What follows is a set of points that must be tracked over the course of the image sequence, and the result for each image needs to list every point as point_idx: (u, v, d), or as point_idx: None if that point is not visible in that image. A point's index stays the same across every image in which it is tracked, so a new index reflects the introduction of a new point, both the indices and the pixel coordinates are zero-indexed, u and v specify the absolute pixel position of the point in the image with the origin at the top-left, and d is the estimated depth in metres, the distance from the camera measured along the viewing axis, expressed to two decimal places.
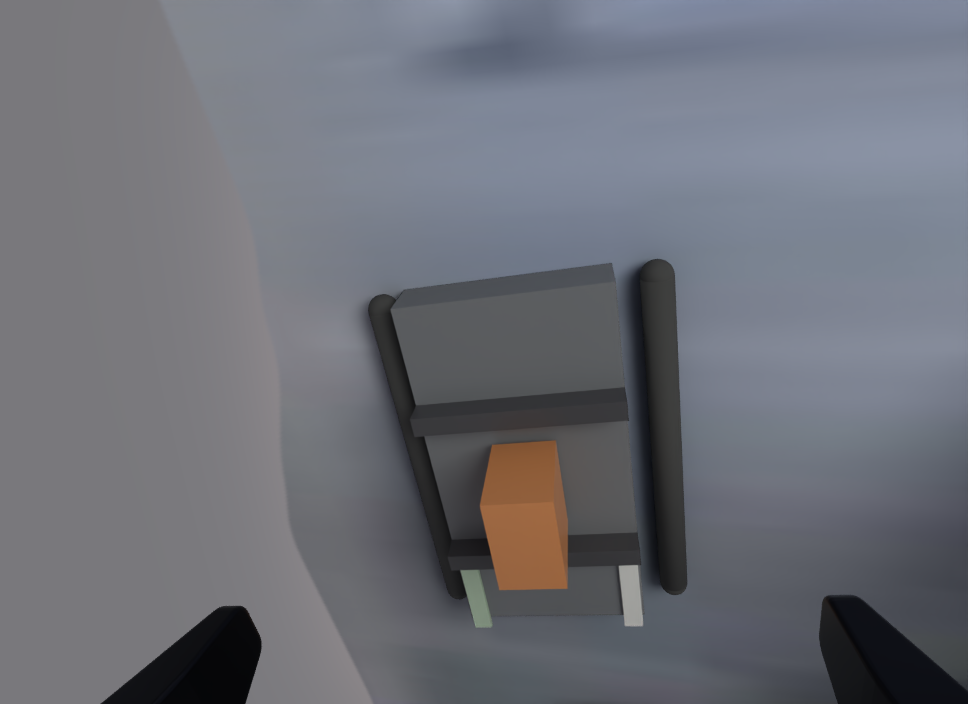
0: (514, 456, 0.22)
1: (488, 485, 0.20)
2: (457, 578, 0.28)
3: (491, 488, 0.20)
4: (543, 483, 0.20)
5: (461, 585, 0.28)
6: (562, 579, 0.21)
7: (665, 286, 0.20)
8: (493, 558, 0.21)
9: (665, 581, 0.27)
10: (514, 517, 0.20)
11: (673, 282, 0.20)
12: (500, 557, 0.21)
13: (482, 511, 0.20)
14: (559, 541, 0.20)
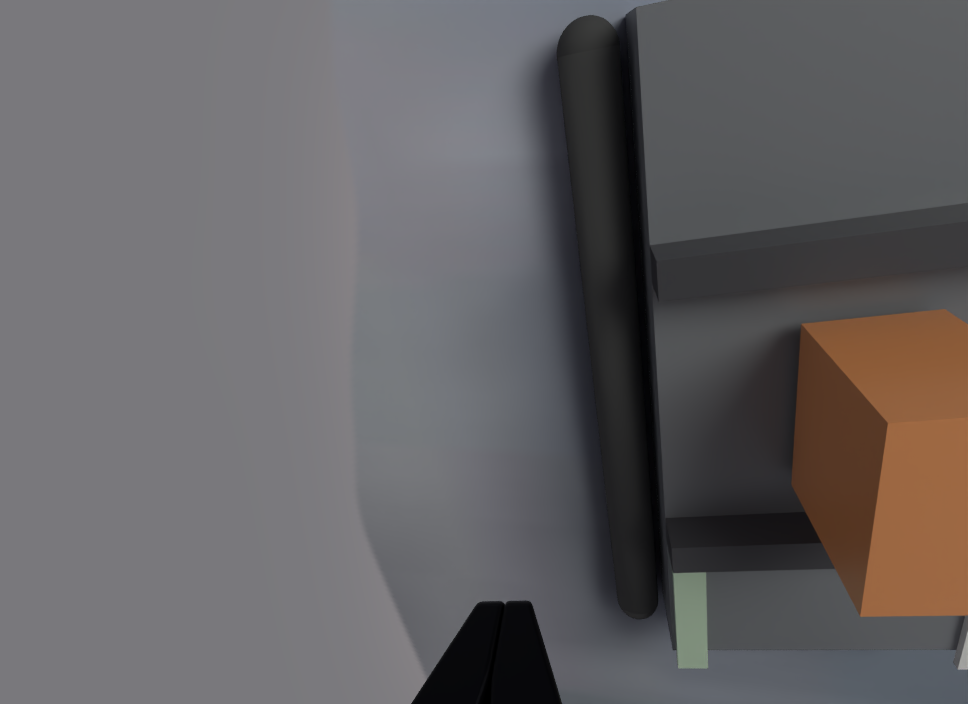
0: (877, 337, 0.10)
1: (868, 385, 0.09)
2: (645, 585, 0.17)
3: (882, 390, 0.09)
4: None
5: (649, 597, 0.17)
6: None
7: None
8: (874, 548, 0.09)
9: None
10: None
11: None
12: (892, 546, 0.09)
13: (890, 437, 0.08)
14: None
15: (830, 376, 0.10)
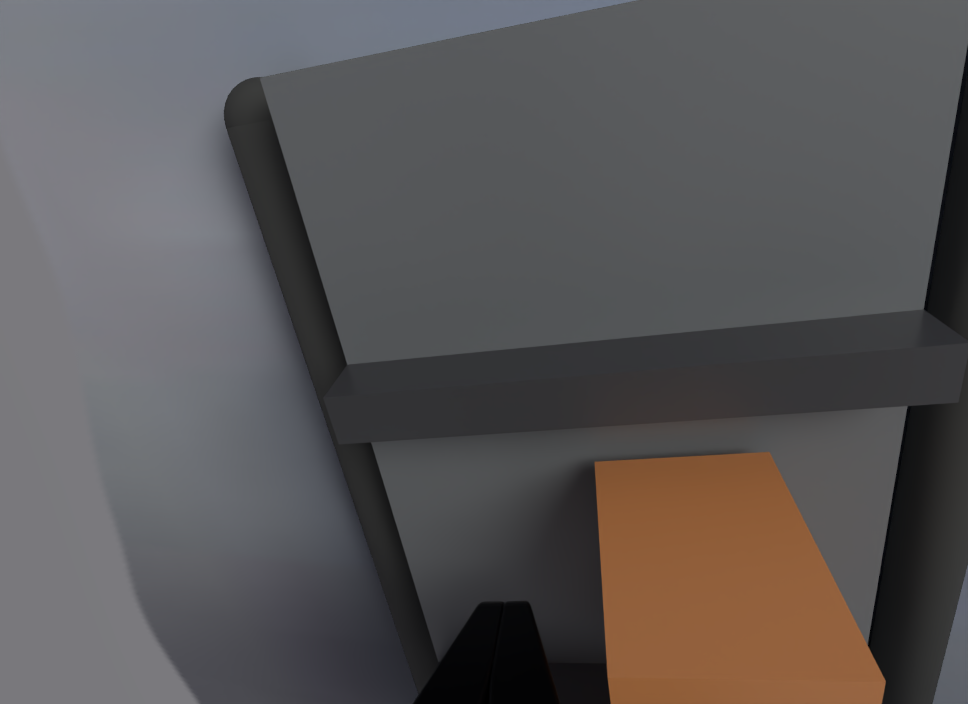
0: (669, 496, 0.08)
1: (617, 593, 0.07)
2: None
3: (630, 605, 0.06)
4: (803, 595, 0.06)
5: None
6: None
7: None
8: None
9: None
10: None
11: None
12: None
13: (614, 694, 0.06)
14: None
15: None
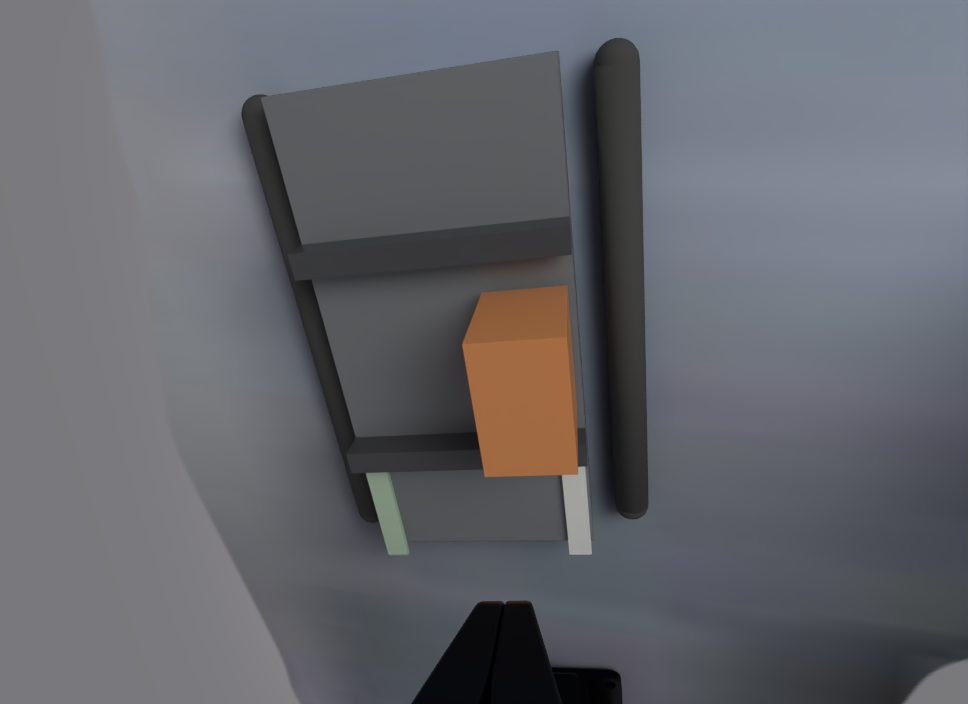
0: (512, 300, 0.16)
1: (475, 326, 0.15)
2: (368, 494, 0.23)
3: (479, 328, 0.15)
4: (551, 321, 0.14)
5: None
6: (572, 460, 0.15)
7: (626, 71, 0.15)
8: (478, 428, 0.15)
9: (621, 501, 0.22)
10: (510, 363, 0.14)
11: (637, 68, 0.15)
12: (488, 426, 0.15)
13: (465, 353, 0.14)
14: (571, 401, 0.14)
15: None
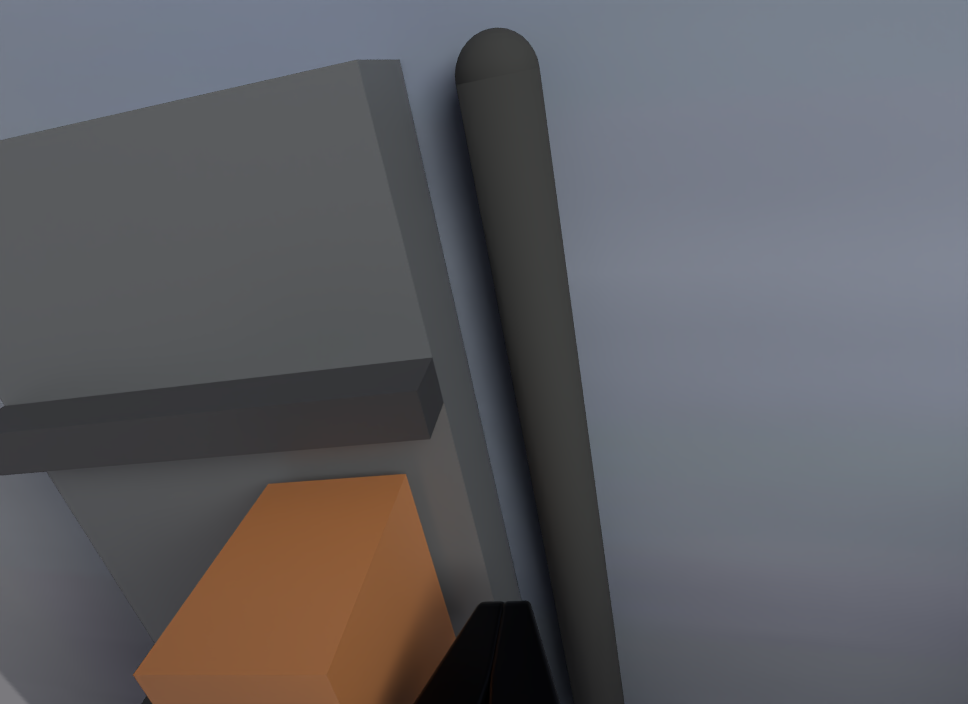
0: (299, 515, 0.09)
1: (195, 602, 0.08)
2: None
3: (196, 613, 0.08)
4: (328, 602, 0.07)
5: None
6: None
7: (510, 91, 0.08)
8: None
9: None
10: None
11: (534, 84, 0.08)
12: None
13: (145, 689, 0.07)
14: None
15: None
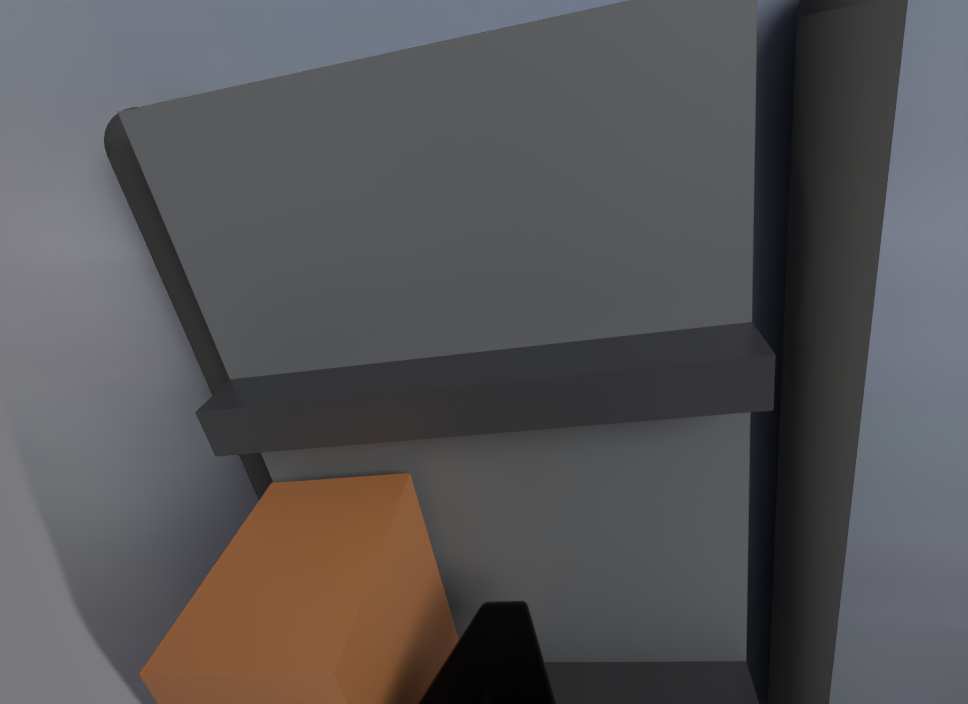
0: (303, 514, 0.09)
1: (199, 601, 0.08)
2: None
3: (201, 612, 0.08)
4: (334, 601, 0.07)
5: None
6: None
7: (887, 18, 0.07)
8: None
9: None
10: None
11: (905, 12, 0.07)
12: None
13: (150, 688, 0.07)
14: None
15: None
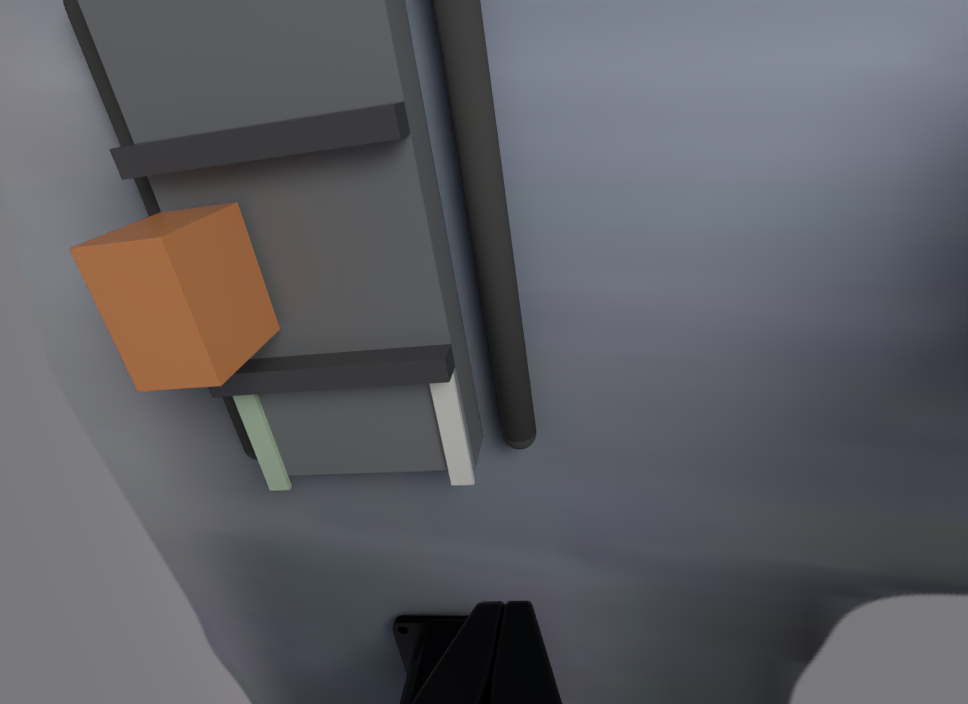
0: (172, 215, 0.16)
1: (105, 235, 0.15)
2: None
3: (105, 236, 0.15)
4: (172, 227, 0.14)
5: None
6: (210, 370, 0.15)
7: None
8: (114, 338, 0.15)
9: (506, 430, 0.21)
10: (120, 267, 0.14)
11: None
12: (122, 336, 0.15)
13: (75, 258, 0.14)
14: (189, 307, 0.14)
15: None
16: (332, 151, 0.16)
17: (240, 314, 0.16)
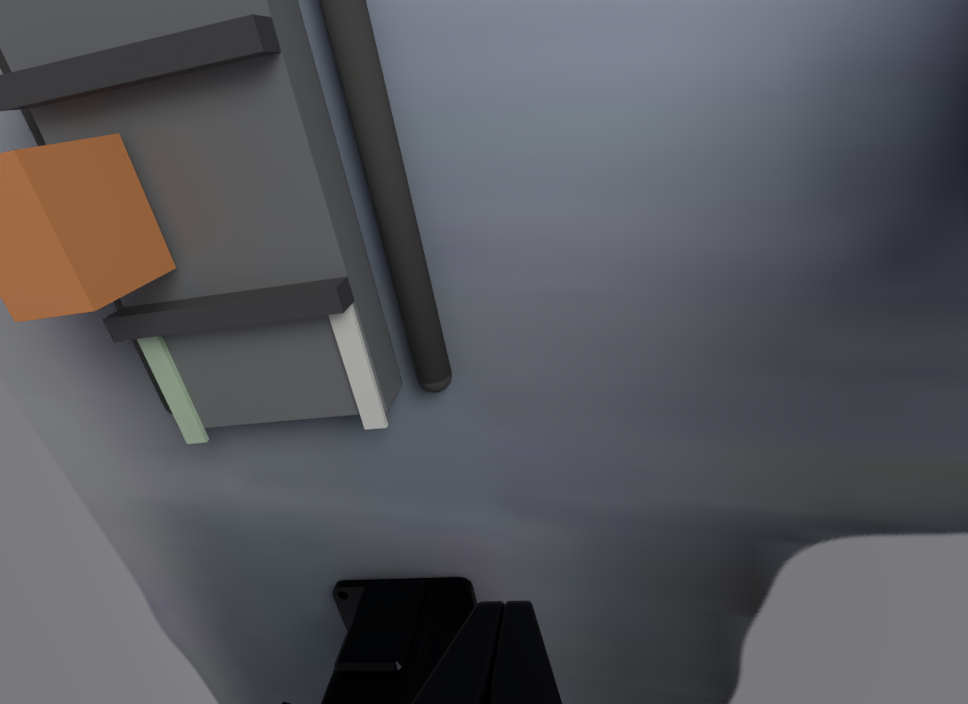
0: None
1: None
2: None
3: None
4: None
5: None
6: (81, 295, 0.15)
7: None
8: None
9: (419, 372, 0.20)
10: None
11: None
12: None
13: None
14: (52, 226, 0.14)
15: None
16: (207, 75, 0.16)
17: (122, 244, 0.16)
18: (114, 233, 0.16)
